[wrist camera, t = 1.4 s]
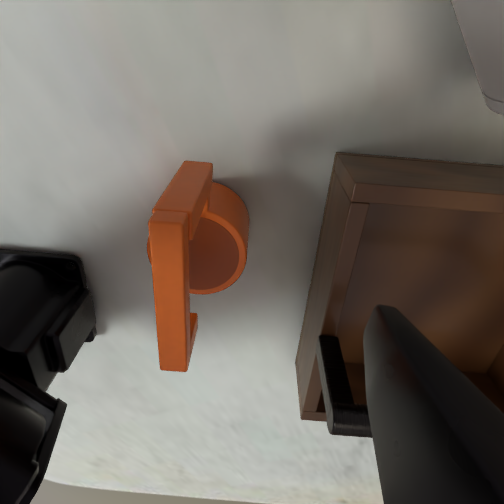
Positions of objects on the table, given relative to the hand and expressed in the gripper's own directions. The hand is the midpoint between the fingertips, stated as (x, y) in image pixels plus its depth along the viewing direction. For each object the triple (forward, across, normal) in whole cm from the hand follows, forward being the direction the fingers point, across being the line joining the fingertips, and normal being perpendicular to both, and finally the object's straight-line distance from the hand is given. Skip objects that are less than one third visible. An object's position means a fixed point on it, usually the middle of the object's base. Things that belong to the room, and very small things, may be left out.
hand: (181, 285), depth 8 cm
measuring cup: (+11, +1, +4) cm, 12 cm away
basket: (+11, -12, +6) cm, 18 cm away
